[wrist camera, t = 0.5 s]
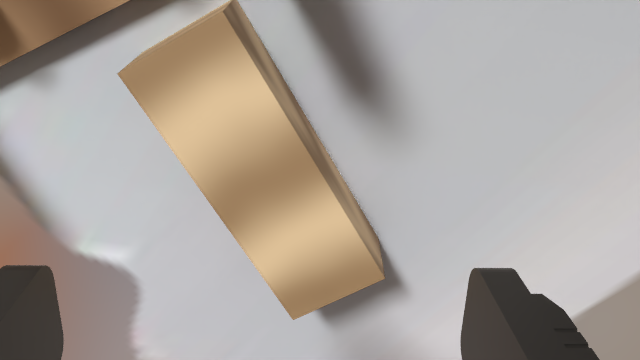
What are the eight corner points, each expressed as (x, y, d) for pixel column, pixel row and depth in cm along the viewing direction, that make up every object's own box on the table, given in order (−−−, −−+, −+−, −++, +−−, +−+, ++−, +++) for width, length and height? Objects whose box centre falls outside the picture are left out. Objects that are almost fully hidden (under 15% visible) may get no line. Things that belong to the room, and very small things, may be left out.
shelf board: (144, 50, 27) (117, 73, 24) (236, -4, 26) (222, 11, 23) (296, 273, 32) (293, 320, 29) (377, 235, 31) (385, 278, 28)
